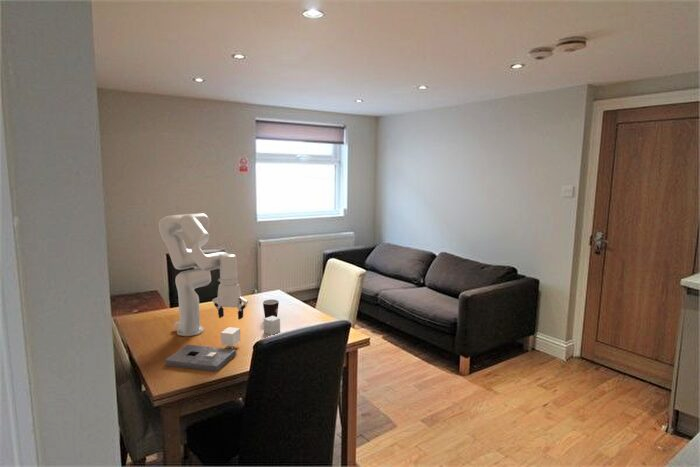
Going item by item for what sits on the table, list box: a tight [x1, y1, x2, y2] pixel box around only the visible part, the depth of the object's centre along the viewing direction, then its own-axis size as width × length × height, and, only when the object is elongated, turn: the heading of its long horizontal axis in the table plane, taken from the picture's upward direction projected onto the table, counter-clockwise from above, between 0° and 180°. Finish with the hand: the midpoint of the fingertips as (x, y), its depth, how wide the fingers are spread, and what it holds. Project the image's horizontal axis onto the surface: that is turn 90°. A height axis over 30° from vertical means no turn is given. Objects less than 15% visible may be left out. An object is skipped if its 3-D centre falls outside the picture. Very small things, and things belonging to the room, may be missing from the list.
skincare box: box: [263, 316, 281, 336], centre depth 214 cm, size 6×6×7 cm
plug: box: [220, 326, 241, 350], centre depth 195 cm, size 6×7×8 cm
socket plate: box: [164, 343, 236, 372], centre depth 182 cm, size 24×16×3 cm, turn 77°
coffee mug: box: [262, 299, 280, 318], centre depth 232 cm, size 12×9×10 cm
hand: (230, 317), depth 193 cm, fingers open, 9 cm apart
